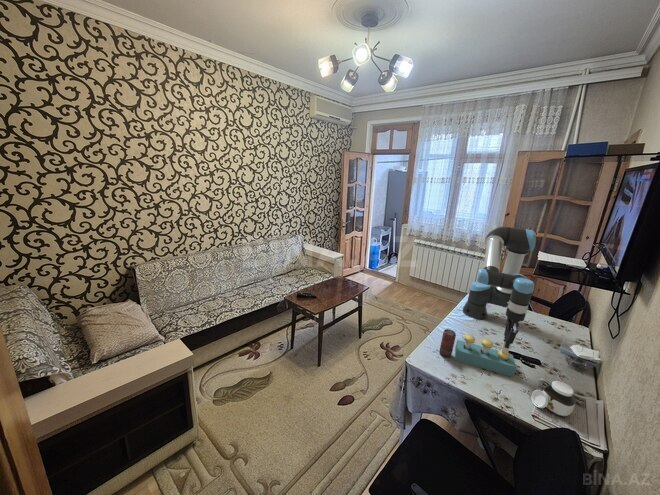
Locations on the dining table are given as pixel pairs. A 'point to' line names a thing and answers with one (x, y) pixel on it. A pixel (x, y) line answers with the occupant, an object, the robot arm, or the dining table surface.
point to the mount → (484, 359)
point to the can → (447, 343)
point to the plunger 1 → (469, 341)
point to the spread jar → (555, 398)
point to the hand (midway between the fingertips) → (504, 351)
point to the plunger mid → (486, 346)
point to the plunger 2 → (503, 355)
